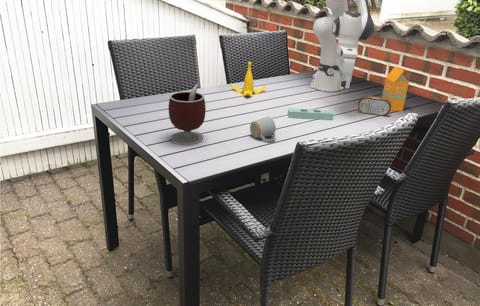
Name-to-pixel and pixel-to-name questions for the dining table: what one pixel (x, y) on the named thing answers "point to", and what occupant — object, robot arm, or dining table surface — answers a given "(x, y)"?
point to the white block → (338, 75)
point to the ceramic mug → (263, 128)
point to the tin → (374, 105)
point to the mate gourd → (187, 116)
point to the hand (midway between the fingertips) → (341, 79)
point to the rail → (310, 114)
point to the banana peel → (248, 84)
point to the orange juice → (396, 89)
